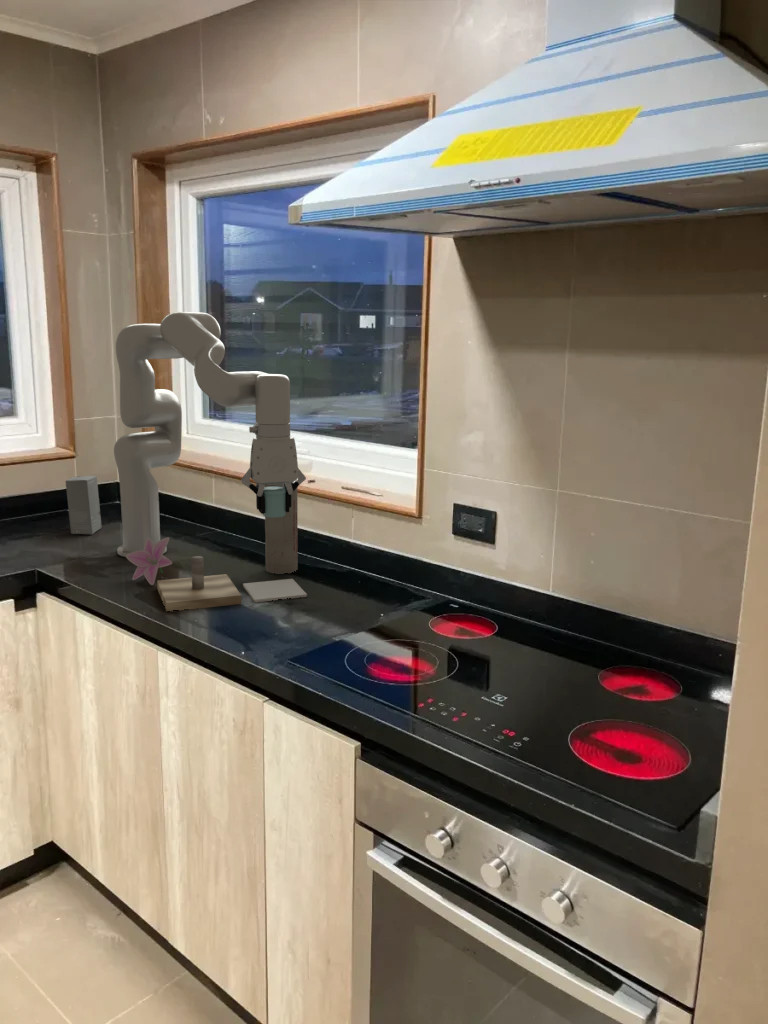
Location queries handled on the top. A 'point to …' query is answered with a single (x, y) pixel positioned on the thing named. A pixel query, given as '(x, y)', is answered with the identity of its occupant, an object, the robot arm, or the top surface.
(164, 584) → the post block
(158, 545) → the lily
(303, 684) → the top surface
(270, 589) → the grey mat
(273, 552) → the thermos bottle
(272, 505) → the cap
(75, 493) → the skincare box
